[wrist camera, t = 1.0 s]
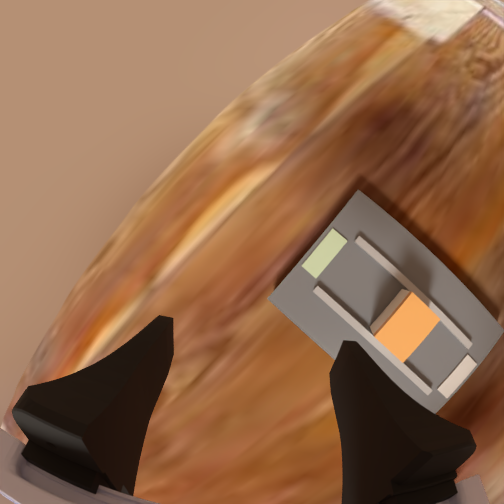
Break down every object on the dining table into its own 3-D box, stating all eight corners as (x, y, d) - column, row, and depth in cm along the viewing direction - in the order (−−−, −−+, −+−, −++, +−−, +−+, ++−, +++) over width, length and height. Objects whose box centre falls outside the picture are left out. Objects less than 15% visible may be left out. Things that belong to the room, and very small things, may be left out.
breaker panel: (495, 327, 20) (507, 331, 18) (413, 421, 22) (418, 433, 19) (357, 195, 25) (358, 187, 23) (272, 296, 27) (265, 299, 25)
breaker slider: (426, 312, 21) (440, 319, 17) (394, 349, 21) (402, 363, 18) (401, 288, 22) (412, 291, 18) (369, 326, 22) (374, 336, 18)
